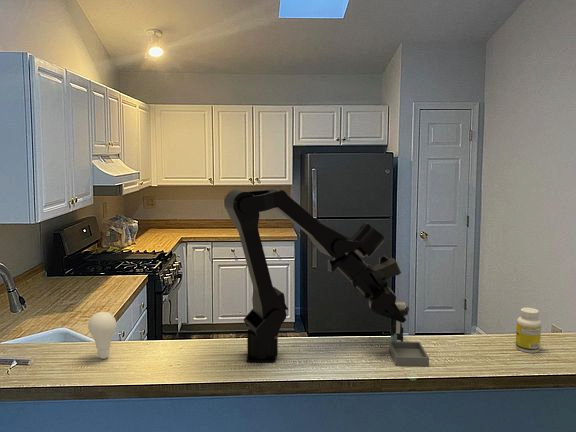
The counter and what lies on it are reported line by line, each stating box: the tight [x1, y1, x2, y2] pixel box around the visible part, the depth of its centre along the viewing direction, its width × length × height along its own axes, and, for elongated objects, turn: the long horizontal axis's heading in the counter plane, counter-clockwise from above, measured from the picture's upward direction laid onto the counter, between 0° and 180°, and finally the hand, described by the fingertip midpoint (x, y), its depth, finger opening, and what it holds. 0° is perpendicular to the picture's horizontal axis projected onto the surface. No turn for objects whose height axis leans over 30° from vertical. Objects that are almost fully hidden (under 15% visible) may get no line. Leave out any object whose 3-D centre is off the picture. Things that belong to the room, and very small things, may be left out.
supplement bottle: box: [515, 307, 542, 354], centre depth 130 cm, size 5×5×10 cm
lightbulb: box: [87, 311, 117, 360], centre depth 123 cm, size 6×6×11 cm
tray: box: [388, 341, 430, 367], centre depth 125 cm, size 7×9×2 cm
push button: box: [390, 300, 410, 342], centre depth 133 cm, size 7×5×10 cm
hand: (400, 315), depth 133 cm, fingers open, 9 cm apart
